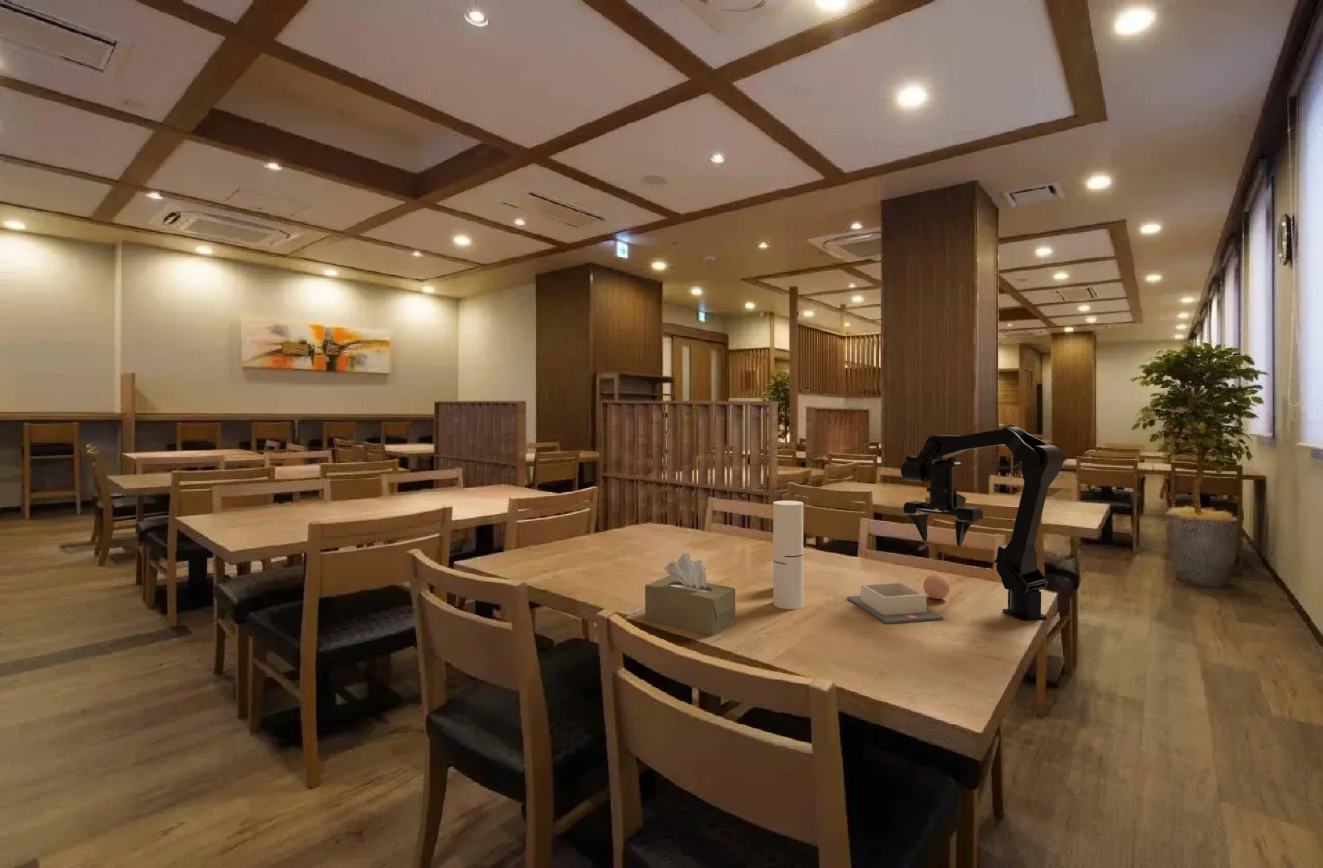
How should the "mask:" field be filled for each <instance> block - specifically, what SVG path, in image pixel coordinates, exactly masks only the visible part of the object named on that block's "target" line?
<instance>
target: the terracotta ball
mask: <svg viewBox="0 0 1323 868" xmlns="http://www.w3.org/2000/svg"><path fill="white" fill-rule="evenodd" d="M922 585H923V590H924V593H925V595H926V596H929V597H930V598H931V599H934V600H942V599H944V598H946V597H947V596H948V595H949V593H950V589H951V586H950V583H949V580H947V578H945V576H942V575H940V574H931V575H929V576H927V577H926V578H925V580H924V581H923V584H922Z"/></svg>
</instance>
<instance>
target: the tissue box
mask: <svg viewBox="0 0 1323 868" xmlns="http://www.w3.org/2000/svg"><path fill="white" fill-rule="evenodd" d="M703 562H704V561H702V560H700V559H698V560H695V561H694V560H693V559H691V555H690V553H688V552H686V553H683V554H681V555H680V557H679V558H678V559H677V561H674V560H671V561H669V563H668V564H667V565H666V566H665V567H663V569H664V570H665V572H666V573H667V574H668V576H665V577H663V578H659V579H658V580H655V581H652V582H649V583H646V584H645V585H644V604H645V605H644V611H645V615H644V618H645V620H647V621H652V622H656V623H660V624H664V625H667V626H670V627H675V628H680V629H684V630H686V631H687V630H688V631H691V632H695V633H699V634H703V635H706V636H710V637H714V636H715V635H717V634H719V633H721V632H723V631H725V630H726V629H727V628H729V627H731V626H732V625H734V624H736V588H735V587H729V586H725V585H719V584H714V583H710V582H707V575H706V574H707V573H706V567H705V565H704V563H703Z"/></svg>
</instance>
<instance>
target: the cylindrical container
mask: <svg viewBox="0 0 1323 868" xmlns="http://www.w3.org/2000/svg"><path fill="white" fill-rule="evenodd" d="M772 503H773V504H772V506H773V507H772V509H773V510H772V511H773V512H772V513H773V514H772V515H773V516H772V517H773V519H772V521H773V522H772V523H773V524H772V527H773V529H772V535H773V537H772V538H773V542H772V545H773V547H772V548H773V549H772V551H773V555H772V559H773V561H772V562H773V563H772V565H773V566H772V571H773V572H772V573H773V574H772V575H773V579H772V581H773V582H772V583H773V584H772V585H773V587H772V588H773V590H772V594H773V595H772V596H773V597H772V598H773V599H772V601H773V602H772V604H773V605H774V606H775V607H776V608H779V609H783V610H798V609H801V608H803V607H804V502H803V501H799V500H776V501H773V502H772Z"/></svg>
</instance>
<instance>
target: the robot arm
mask: <svg viewBox="0 0 1323 868" xmlns="http://www.w3.org/2000/svg"><path fill="white" fill-rule="evenodd" d="M1003 445H1005V446H1006V447H1007V448H1008V449H1009V451H1010V452H1011V453H1012V455H1013V456H1014V457H1016V459H1018V460H1020V472H1021V475H1022V479H1023V487H1022V491H1021V494H1020V500H1019V503H1018V507H1017V511H1016V517H1015V521H1014V524H1013V528H1012V529H1013V530H1012V532H1011V537H1010V541H1009V542H1008V544H1004V545H999V546H998V547H997V552H996V553H997V554H996V558H995V560H994V561H993V563H995V564H996V565H995V570H996V572H997V573H998V576H999V577H1000V579H1001V582H1002V586H1003V588H1004V589H1005V590H1007V608H1003V609H1002V612H1004V613H1006V614H1008V615H1010V616H1013V617H1014V618H1017V619H1020V620H1022V621H1028V620H1029V621H1030V620H1040V619H1041V620H1042V619H1045V620H1046V619H1048V616H1047V615H1046V614H1044V613H1042V591H1040V589H1045V588H1046V587H1047V585H1048V582H1049V579H1048V578H1047V577H1046V576H1045V575H1044V573H1043V572H1041V570H1040V569H1039V568H1038V555H1037V554H1038V553H1037V551H1036V547H1035V545H1036V544H1035V543H1036V538H1037V536H1038V535H1037V534H1038V532H1039V527H1040V524H1041V520H1042V519H1041V518H1042V516H1043V511H1044V506H1045V503H1046V499H1047V495H1048V491H1049V487H1050V486H1051V484H1052V483H1053V481H1054V480H1055V479H1056V478H1057V476H1058V475H1059V473H1060V471H1061V469H1062V466H1063V465H1064V462H1065V454H1064V453H1063V451H1062V450H1061V449H1060V448H1059V447H1057V446H1055V445H1053V444H1052V445H1051V444H1048V443H1047V442H1045V441H1043V440H1042V439H1039V438H1038V437H1036V436H1034V435H1031V434H1029V433H1028V432H1026V430H1023V428H1021V427H1019V426H1007V427H1003V428H999V429H994V430H988V431H981V432H975V433H969V434H964V435H961V434H960V435H957V434H942V435H931V436H930V435H929V436H928V437H927V439H926V440H925V444H924V446H923V448H922V449H921V450H920V452H919V454H918V455H917V456H916V455H907V456H905V461H903V463H902V466H901V468H900V473H901V477H902V478H903V480H905V481H909V482H920V483H927V482H928V487H926V492H927V493H929V495H928V496H929V500H928V501H929V502H926V501H918V500H913V501H912V500H911V501H906V502H904V505H903V507H902V512H903V514H907V517H909V518H910V520H911V521H912V522H913V523H914V525H915V527H916V529H917V530H918V533H919V536H921V539H922V541H923V542H927V541H928V518H929V514H937V515H946V516H956V518H957V520H955V522H954V523H955V541H956V545H957V547H962V545H963V542H964V540H965V538H966V535H967V532H968V530H969V528H970V527H971V526H972V524H973V523H977V522H978V521H979V520H983V519H984V511H983V509H982V508H981V507H979V506H978V507H977V506H968V505H967V506H966V501H967V497H965V496H963V495H962V494H959V493H958V492H957V491H958V489H957V487H956V486H954V483H955V482H954V478H955V477H954V468H959V467H962V463H961V462H960V461H959V460H958V459H957V458H956V457H954V456H957V455H959V454H962V453H964V452H966V451H969V450H975V449H984V448H992V447H997V446H1003ZM945 458H948V459H945ZM933 461H934V462H933Z"/></svg>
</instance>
